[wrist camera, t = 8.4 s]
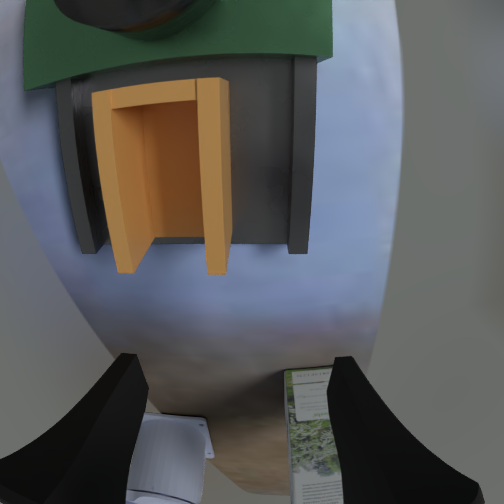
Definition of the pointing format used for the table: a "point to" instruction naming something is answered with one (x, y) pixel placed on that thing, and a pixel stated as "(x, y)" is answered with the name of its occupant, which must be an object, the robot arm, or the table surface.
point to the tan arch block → (165, 166)
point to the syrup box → (311, 438)
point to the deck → (182, 68)
